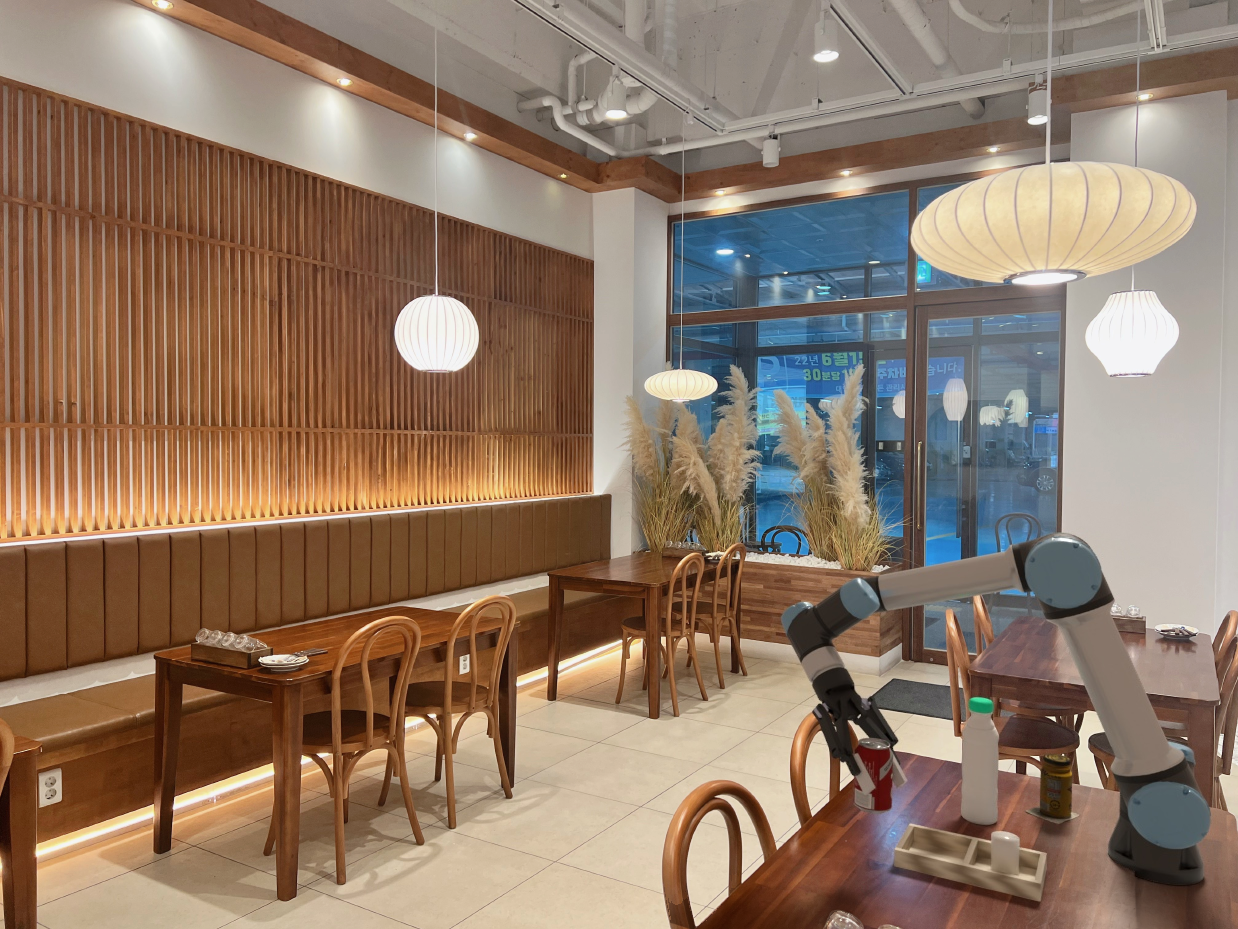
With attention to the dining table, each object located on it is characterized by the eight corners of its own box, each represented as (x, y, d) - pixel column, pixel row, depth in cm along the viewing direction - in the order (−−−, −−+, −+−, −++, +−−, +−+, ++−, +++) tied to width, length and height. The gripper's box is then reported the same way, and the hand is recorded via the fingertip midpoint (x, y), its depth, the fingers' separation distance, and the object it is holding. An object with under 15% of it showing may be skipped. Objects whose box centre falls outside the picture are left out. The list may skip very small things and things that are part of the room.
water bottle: (1004, 821, 180) (1006, 701, 180) (984, 829, 176) (986, 706, 176) (973, 809, 186) (975, 693, 185) (953, 816, 182) (955, 698, 182)
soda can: (870, 818, 154) (872, 750, 154) (845, 804, 160) (847, 739, 160) (899, 812, 157) (901, 746, 156) (874, 798, 163) (876, 735, 163)
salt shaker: (1020, 873, 155) (1020, 835, 155) (1017, 884, 151) (1018, 844, 151) (992, 867, 158) (993, 829, 158) (989, 878, 154) (989, 838, 154)
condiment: (1080, 815, 183) (1081, 759, 183) (1058, 825, 179) (1059, 767, 178) (1047, 803, 189) (1048, 749, 189) (1024, 812, 185) (1025, 756, 184)
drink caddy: (1046, 875, 157) (1046, 853, 157) (1040, 907, 146) (1040, 883, 146) (909, 843, 169) (909, 823, 169) (894, 871, 158) (894, 849, 158)
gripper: (858, 680, 176) (917, 788, 162) (778, 691, 168) (832, 806, 153) (877, 660, 171) (938, 769, 157) (795, 670, 163) (852, 787, 149)
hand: (886, 787), depth 155 cm, fingers closed on soda can, 7 cm apart
